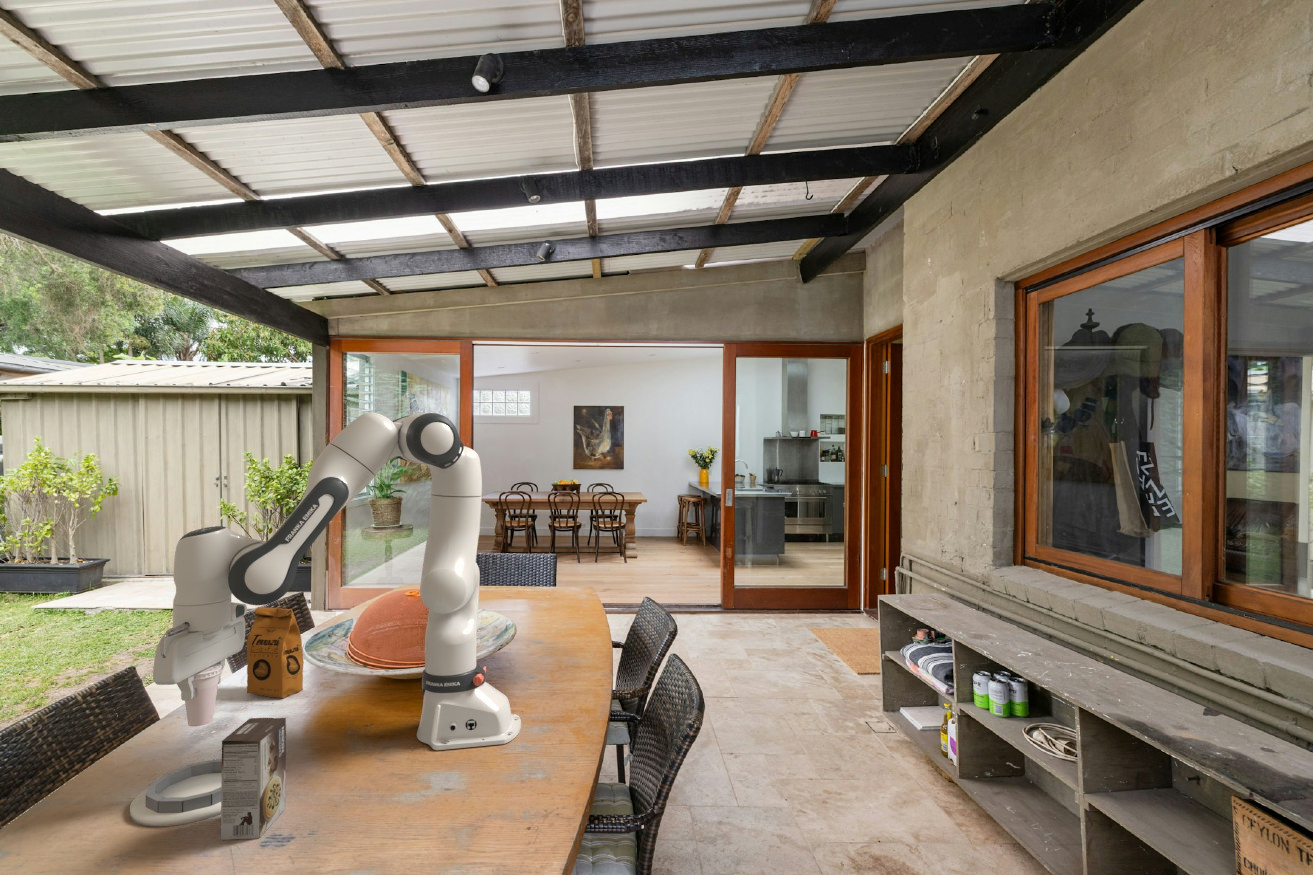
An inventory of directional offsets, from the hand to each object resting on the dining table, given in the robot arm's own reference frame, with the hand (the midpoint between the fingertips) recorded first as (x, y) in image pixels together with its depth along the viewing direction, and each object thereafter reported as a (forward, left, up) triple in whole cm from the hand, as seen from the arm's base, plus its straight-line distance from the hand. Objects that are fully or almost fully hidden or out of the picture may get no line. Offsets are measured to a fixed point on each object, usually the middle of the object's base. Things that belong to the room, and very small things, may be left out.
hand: (201, 692), depth 120 cm
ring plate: (0, 0, -19) cm, 19 cm away
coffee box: (-15, +10, -19) cm, 26 cm away
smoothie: (0, 0, -6) cm, 6 cm away
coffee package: (+14, -51, -19) cm, 56 cm away
